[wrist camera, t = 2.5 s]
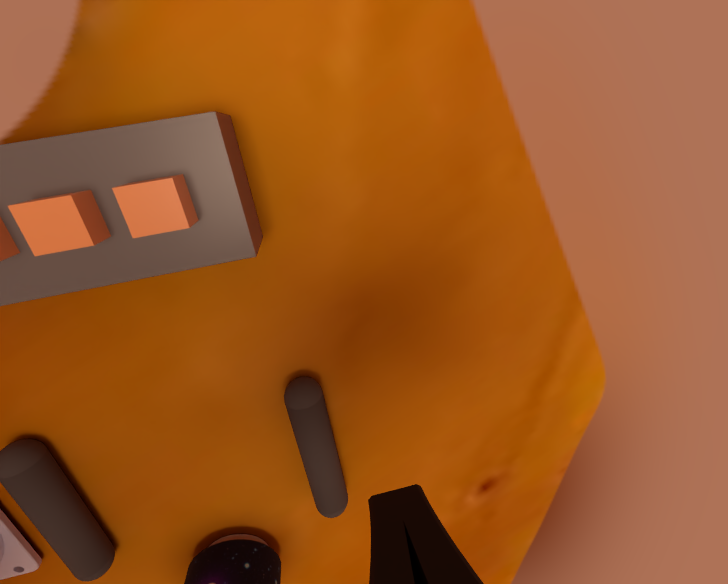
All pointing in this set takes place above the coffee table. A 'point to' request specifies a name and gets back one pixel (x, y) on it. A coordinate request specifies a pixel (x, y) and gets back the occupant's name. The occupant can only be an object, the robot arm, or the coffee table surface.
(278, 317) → the coffee table surface
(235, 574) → the beverage can
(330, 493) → the cord
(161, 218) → the breaker strip
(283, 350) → the coffee table surface
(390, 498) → the robot arm
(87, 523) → the cord
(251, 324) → the coffee table surface
